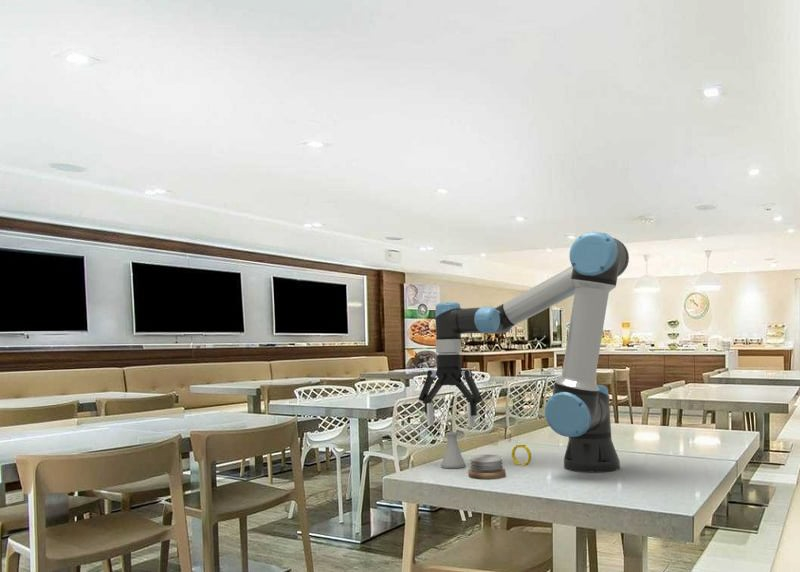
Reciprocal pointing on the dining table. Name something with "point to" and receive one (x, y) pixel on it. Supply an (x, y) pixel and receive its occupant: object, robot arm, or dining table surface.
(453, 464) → the flask
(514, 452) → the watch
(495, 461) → the pedestal
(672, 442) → the dining table surface
